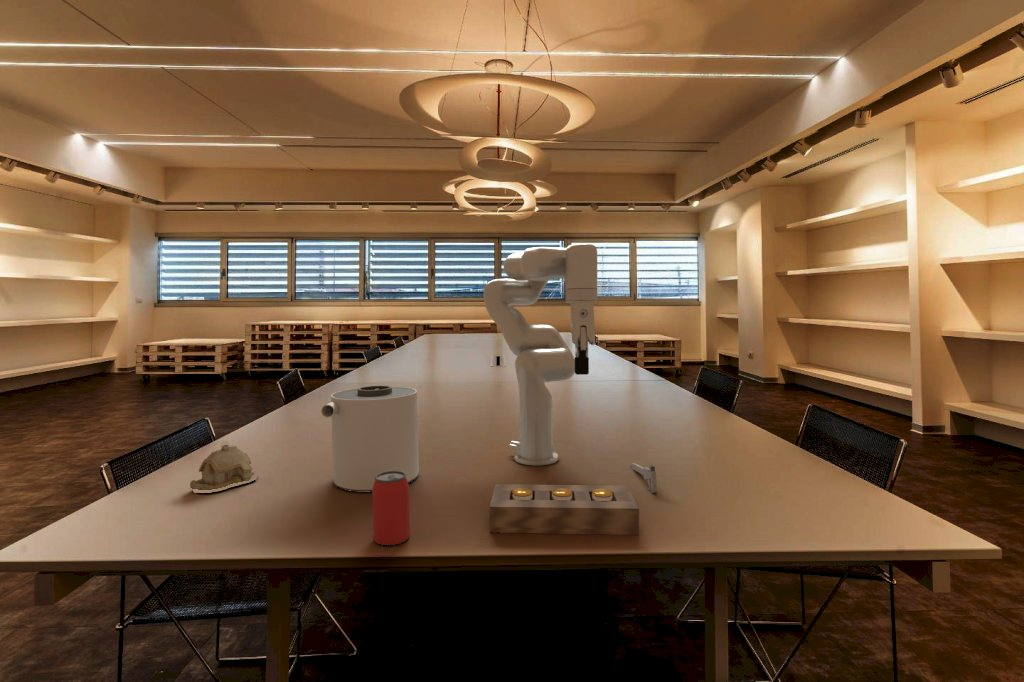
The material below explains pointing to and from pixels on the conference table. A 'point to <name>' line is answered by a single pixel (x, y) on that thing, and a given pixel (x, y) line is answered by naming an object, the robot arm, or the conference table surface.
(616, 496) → the knob console
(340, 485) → the humidifier
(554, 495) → the middle knob
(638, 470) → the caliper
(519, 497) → the left knob
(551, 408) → the robot arm
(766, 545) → the conference table surface
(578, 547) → the conference table surface
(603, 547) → the conference table surface
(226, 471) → the ceramic model
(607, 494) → the right knob
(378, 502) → the beer can
